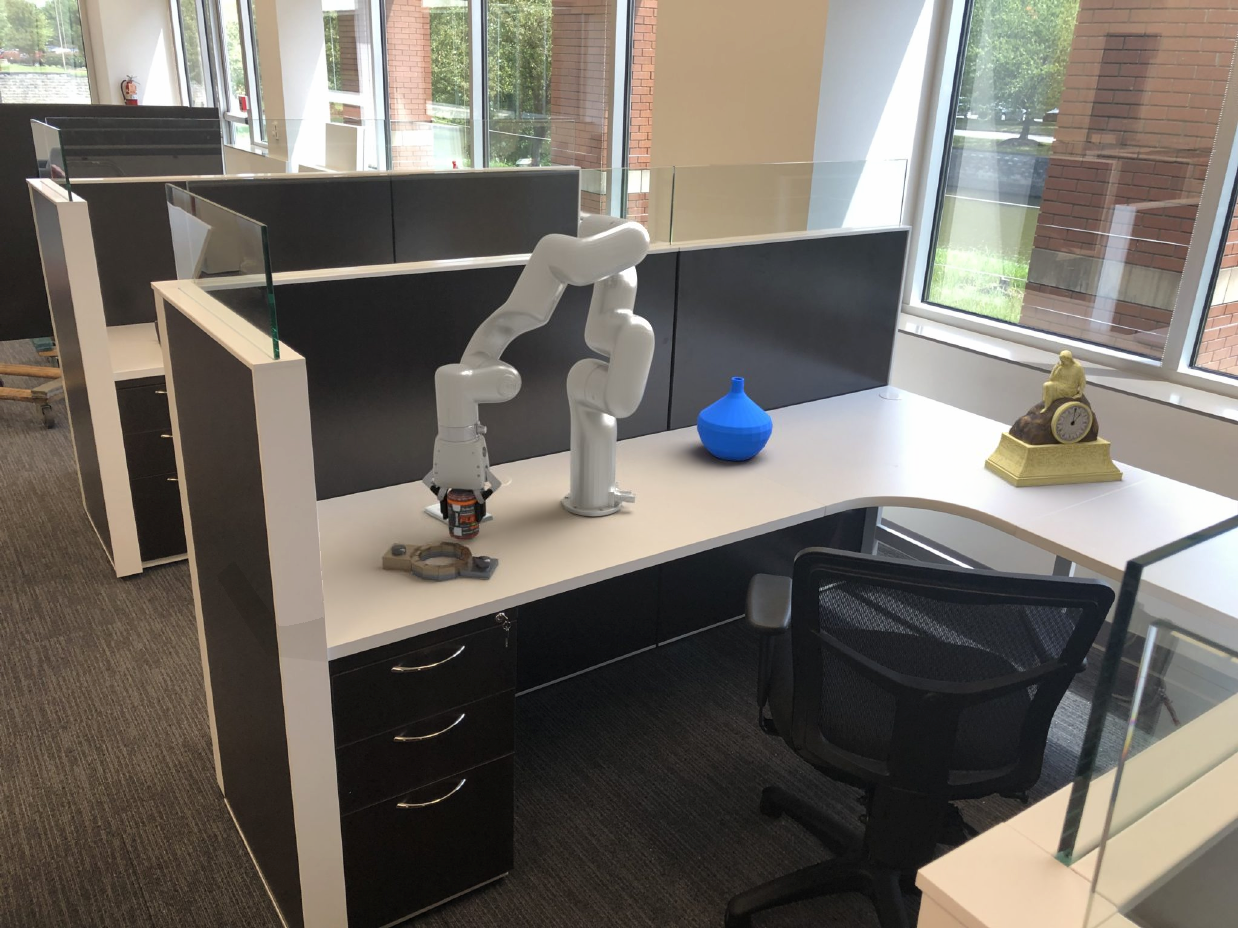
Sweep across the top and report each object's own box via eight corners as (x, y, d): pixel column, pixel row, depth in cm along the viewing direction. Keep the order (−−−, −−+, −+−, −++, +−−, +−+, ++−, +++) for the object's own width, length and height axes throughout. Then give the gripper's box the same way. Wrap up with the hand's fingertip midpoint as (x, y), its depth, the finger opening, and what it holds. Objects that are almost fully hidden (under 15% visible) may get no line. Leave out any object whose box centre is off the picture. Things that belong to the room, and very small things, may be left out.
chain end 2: (502, 558, 181) (501, 546, 180) (485, 585, 171) (485, 573, 170) (422, 550, 183) (421, 539, 182) (401, 577, 173) (400, 565, 172)
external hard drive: (460, 533, 193) (424, 514, 201) (493, 521, 198) (457, 503, 206) (460, 525, 192) (424, 506, 200) (493, 514, 198) (456, 496, 206)
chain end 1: (478, 556, 182) (478, 541, 181) (460, 583, 172) (460, 568, 171) (399, 548, 184) (398, 534, 183) (377, 574, 174) (376, 559, 173)
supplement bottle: (462, 544, 185) (459, 489, 181) (442, 534, 189) (439, 481, 184) (486, 533, 189) (483, 480, 185) (466, 525, 193) (463, 472, 188)
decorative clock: (1015, 487, 223) (1039, 361, 212) (984, 467, 235) (1005, 346, 224) (1121, 480, 229) (1149, 357, 218) (1085, 461, 241) (1110, 343, 230)
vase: (748, 438, 249) (753, 366, 243) (783, 462, 233) (790, 386, 227) (683, 445, 243) (687, 371, 236) (715, 470, 227) (720, 392, 220)
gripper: (508, 426, 183) (511, 513, 190) (421, 421, 185) (427, 507, 192) (498, 440, 176) (501, 529, 183) (407, 434, 179) (414, 523, 185)
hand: (463, 517), depth 187 cm, fingers closed on supplement bottle, 6 cm apart
